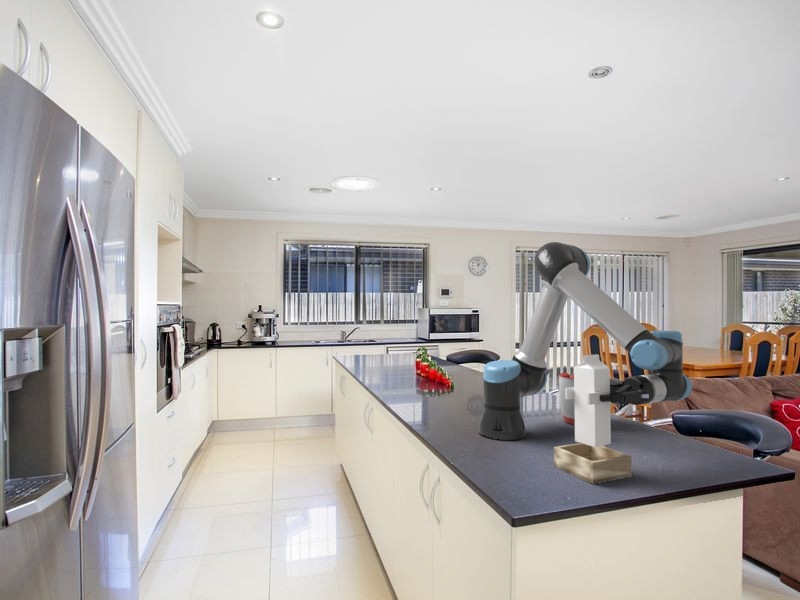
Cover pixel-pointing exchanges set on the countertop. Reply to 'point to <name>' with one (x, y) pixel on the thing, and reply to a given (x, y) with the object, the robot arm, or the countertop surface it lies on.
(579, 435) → the milk
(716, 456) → the countertop surface
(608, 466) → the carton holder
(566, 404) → the citrus juicer
